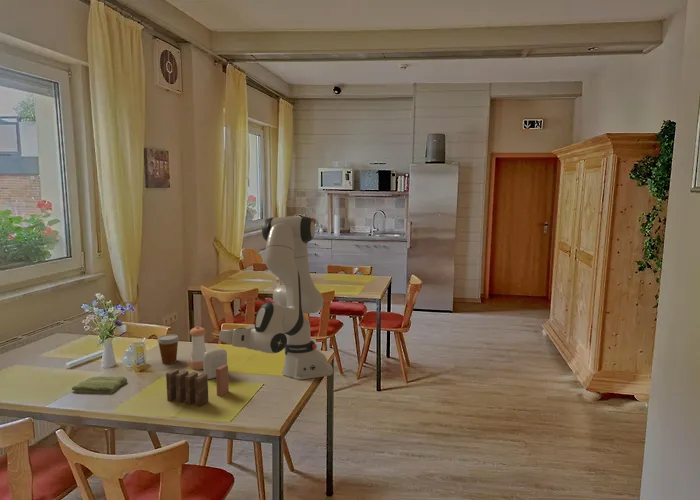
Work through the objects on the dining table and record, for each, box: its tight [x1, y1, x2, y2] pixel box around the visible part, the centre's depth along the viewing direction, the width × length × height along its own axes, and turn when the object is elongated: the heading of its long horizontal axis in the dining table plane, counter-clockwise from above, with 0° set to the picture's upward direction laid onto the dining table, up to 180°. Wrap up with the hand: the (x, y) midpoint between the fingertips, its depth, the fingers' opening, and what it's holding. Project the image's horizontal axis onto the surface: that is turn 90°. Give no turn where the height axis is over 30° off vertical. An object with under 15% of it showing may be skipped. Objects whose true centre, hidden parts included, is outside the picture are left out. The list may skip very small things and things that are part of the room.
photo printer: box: [203, 348, 228, 380], centre depth 215 cm, size 10×4×12 cm, turn 123°
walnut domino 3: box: [185, 371, 199, 406], centre depth 189 cm, size 2×5×11 cm, turn 159°
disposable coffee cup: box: [157, 333, 180, 365], centre depth 233 cm, size 10×10×12 cm
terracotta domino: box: [215, 364, 230, 397], centre depth 197 cm, size 2×5×11 cm, turn 158°
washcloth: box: [71, 375, 128, 394], centre depth 204 cm, size 13×18×3 cm
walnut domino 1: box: [165, 368, 180, 402], centre depth 193 cm, size 2×5×11 cm, turn 158°
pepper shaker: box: [189, 325, 207, 371], centre depth 226 cm, size 7×7×19 cm
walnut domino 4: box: [195, 373, 209, 408], centre depth 188 cm, size 2×5×11 cm, turn 158°
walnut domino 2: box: [175, 370, 190, 404], centre depth 191 cm, size 2×5×11 cm, turn 158°
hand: (235, 333), depth 195 cm, fingers open, 8 cm apart
